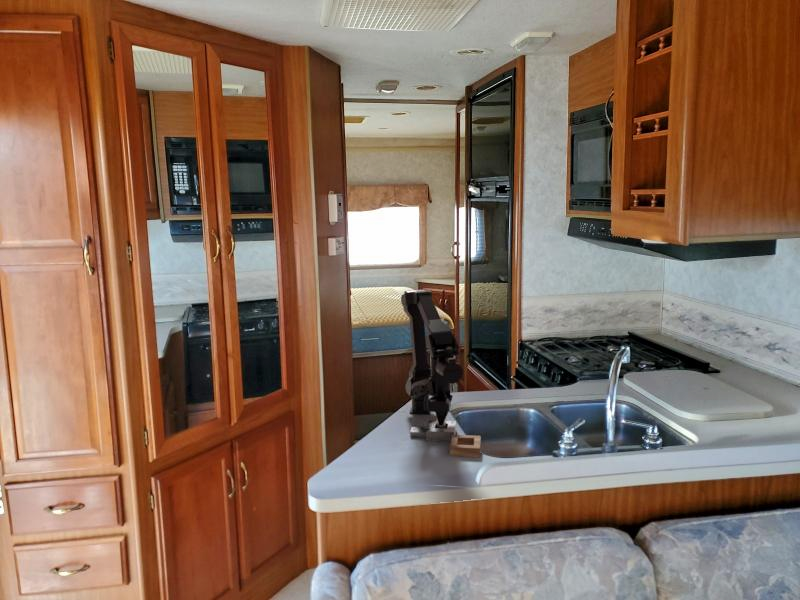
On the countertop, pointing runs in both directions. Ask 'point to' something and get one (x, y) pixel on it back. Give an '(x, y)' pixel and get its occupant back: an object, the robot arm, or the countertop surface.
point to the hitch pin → (442, 425)
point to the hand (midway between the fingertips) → (441, 423)
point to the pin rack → (465, 445)
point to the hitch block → (435, 431)
